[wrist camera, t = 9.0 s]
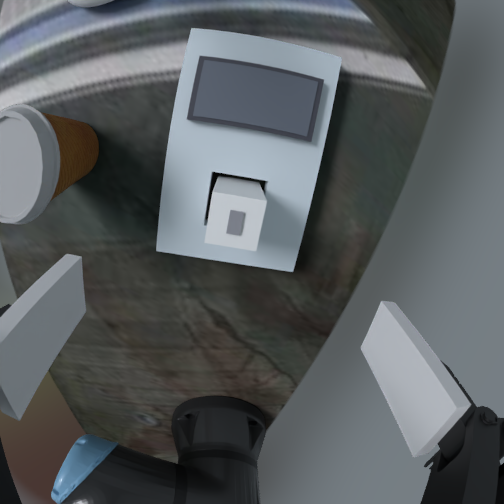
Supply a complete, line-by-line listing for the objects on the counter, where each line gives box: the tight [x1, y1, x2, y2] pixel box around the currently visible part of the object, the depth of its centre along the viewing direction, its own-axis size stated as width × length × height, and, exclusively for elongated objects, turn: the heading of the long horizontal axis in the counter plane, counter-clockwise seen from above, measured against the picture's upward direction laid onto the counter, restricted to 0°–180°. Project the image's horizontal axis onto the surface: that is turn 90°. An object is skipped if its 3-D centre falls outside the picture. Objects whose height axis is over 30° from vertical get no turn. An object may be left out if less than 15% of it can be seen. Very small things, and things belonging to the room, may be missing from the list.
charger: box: [204, 175, 267, 251], centre depth 26 cm, size 4×4×8 cm
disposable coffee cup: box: [0, 104, 99, 224], centre depth 21 cm, size 10×10×12 cm
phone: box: [187, 56, 324, 142], centre depth 24 cm, size 6×11×1 cm, turn 79°
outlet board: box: [156, 28, 342, 272], centre depth 27 cm, size 22×14×2 cm, turn 169°
